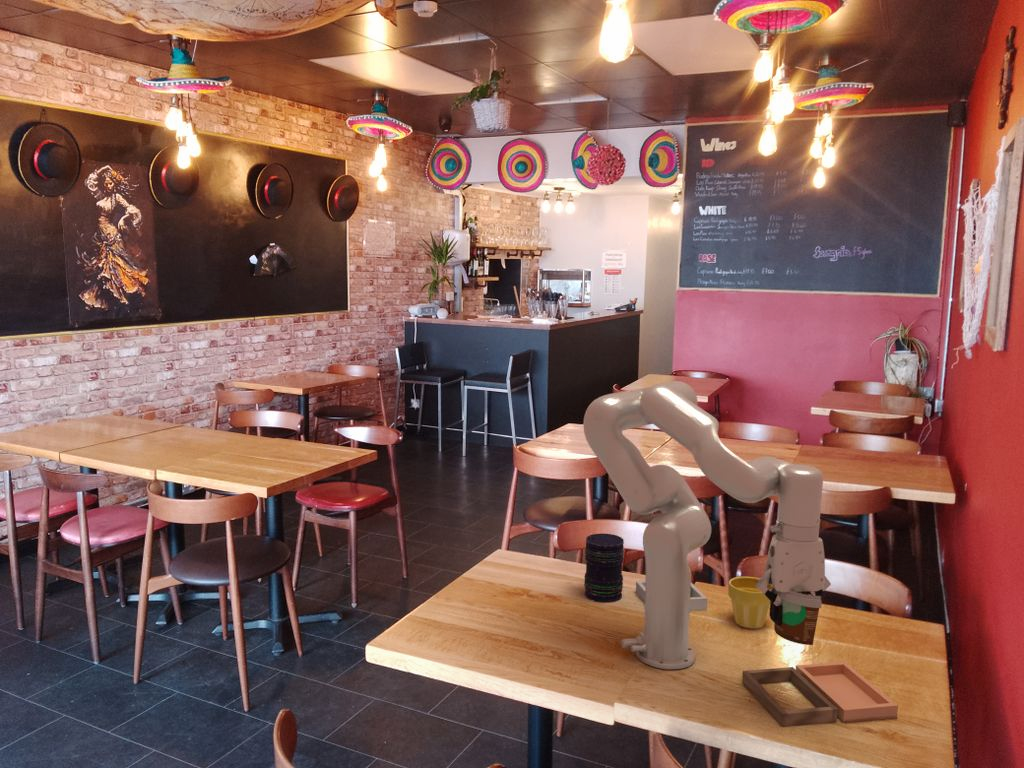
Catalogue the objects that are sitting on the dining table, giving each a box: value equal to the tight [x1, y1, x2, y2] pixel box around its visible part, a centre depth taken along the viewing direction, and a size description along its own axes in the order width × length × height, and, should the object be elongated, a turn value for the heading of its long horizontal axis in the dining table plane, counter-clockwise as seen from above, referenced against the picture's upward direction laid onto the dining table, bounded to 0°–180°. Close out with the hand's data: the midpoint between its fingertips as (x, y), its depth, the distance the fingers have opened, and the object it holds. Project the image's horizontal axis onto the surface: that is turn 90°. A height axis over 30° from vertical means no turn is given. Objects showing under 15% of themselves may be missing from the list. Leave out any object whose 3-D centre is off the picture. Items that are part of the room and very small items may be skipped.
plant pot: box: [727, 576, 772, 630], centre depth 185 cm, size 10×10×10 cm
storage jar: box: [583, 533, 625, 604], centre depth 200 cm, size 10×10×15 cm
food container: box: [773, 589, 822, 646], centre depth 149 cm, size 12×6×10 cm, turn 6°
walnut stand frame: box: [741, 666, 838, 728], centre depth 151 cm, size 11×16×2 cm
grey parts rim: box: [635, 580, 708, 612], centre depth 198 cm, size 14×13×3 cm
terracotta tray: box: [795, 661, 899, 724], centre depth 153 cm, size 11×17×2 cm, turn 10°
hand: (790, 620), depth 149 cm, fingers closed on food container, 5 cm apart
